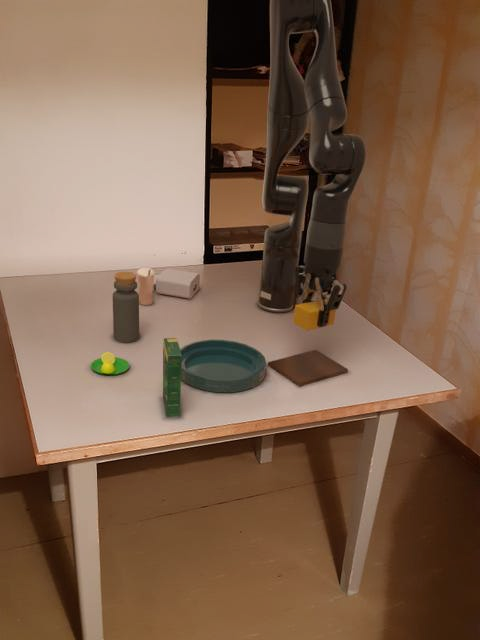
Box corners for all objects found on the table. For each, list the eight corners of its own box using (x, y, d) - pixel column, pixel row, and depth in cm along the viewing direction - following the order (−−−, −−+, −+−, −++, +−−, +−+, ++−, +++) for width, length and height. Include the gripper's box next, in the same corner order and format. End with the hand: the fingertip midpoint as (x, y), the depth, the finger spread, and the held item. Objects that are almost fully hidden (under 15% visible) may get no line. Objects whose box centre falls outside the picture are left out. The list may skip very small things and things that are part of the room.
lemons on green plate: (85, 363, 142) (85, 351, 141) (120, 356, 146) (120, 345, 145) (99, 379, 137) (98, 367, 135) (135, 372, 141) (135, 360, 139)
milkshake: (140, 308, 170) (140, 270, 165) (134, 300, 174) (134, 263, 169) (158, 306, 172) (158, 268, 166) (151, 299, 176) (152, 261, 170)
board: (315, 352, 155) (315, 349, 155) (347, 372, 148) (348, 369, 148) (267, 365, 148) (267, 362, 148) (299, 386, 141) (299, 383, 140)
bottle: (134, 344, 152) (133, 281, 144) (109, 340, 153) (107, 277, 145) (142, 334, 157) (142, 272, 149) (118, 330, 158) (117, 269, 150)
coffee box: (161, 396, 133) (162, 336, 126) (176, 396, 133) (177, 336, 126) (165, 418, 126) (166, 355, 119) (180, 417, 127) (182, 355, 120)
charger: (148, 280, 187) (199, 288, 184) (135, 291, 179) (189, 300, 177) (148, 264, 184) (200, 272, 182) (135, 274, 177) (190, 283, 174)
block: (319, 316, 146) (322, 299, 144) (333, 324, 143) (336, 306, 141) (292, 322, 142) (295, 304, 140) (306, 330, 139) (309, 312, 137)
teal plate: (231, 345, 155) (232, 333, 154) (282, 380, 143) (284, 367, 141) (159, 362, 145) (159, 349, 144) (207, 401, 133) (208, 388, 131)
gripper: (363, 250, 130) (349, 331, 139) (315, 230, 140) (305, 307, 149) (335, 254, 126) (322, 337, 135) (288, 234, 136) (279, 312, 145)
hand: (313, 321), depth 142 cm, fingers closed on block, 4 cm apart
